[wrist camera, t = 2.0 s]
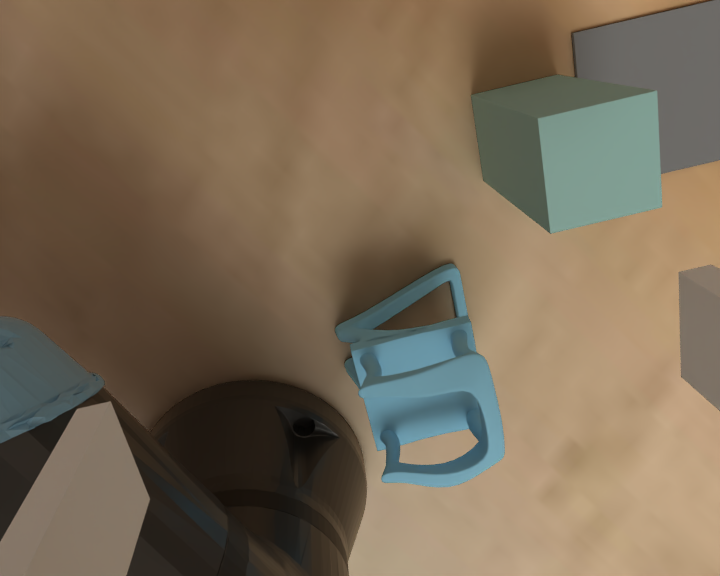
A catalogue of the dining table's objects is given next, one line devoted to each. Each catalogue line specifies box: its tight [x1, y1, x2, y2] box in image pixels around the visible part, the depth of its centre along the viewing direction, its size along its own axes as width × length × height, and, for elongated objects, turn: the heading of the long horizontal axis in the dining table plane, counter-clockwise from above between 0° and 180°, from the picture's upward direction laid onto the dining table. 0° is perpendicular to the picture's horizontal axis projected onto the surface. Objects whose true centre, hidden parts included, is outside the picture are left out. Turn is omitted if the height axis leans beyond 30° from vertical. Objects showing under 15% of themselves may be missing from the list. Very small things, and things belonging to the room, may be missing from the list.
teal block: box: [471, 75, 662, 234], centre depth 33 cm, size 5×5×11 cm
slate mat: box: [572, 0, 720, 174], centre depth 38 cm, size 13×9×1 cm
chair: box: [335, 264, 505, 487], centre depth 36 cm, size 8×8×12 cm
